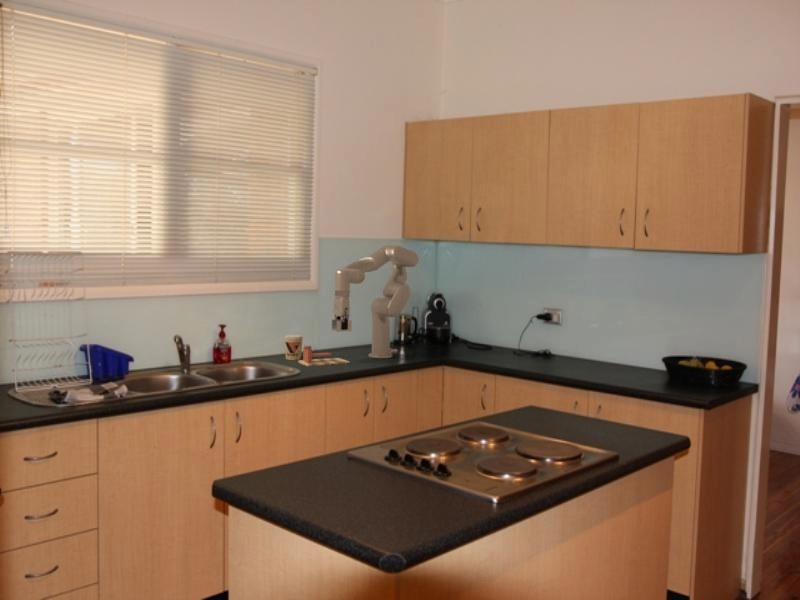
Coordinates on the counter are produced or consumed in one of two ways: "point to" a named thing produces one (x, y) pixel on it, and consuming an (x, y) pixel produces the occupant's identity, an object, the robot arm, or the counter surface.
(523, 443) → the counter surface
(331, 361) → the birch board
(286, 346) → the coffee cup
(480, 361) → the counter surface
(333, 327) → the coupler lock
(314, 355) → the red toy hammer
